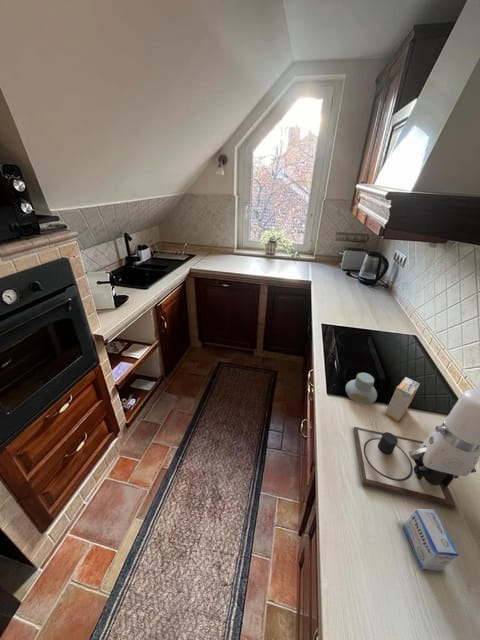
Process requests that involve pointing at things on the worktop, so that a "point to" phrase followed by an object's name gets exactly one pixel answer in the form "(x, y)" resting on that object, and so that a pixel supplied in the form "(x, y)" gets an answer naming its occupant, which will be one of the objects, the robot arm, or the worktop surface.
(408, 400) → the supplement box
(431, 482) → the cylinder
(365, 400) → the air freshener
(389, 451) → the cylinder
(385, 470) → the sketch board
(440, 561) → the medicine box
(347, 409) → the worktop surface
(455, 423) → the robot arm
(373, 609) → the worktop surface
